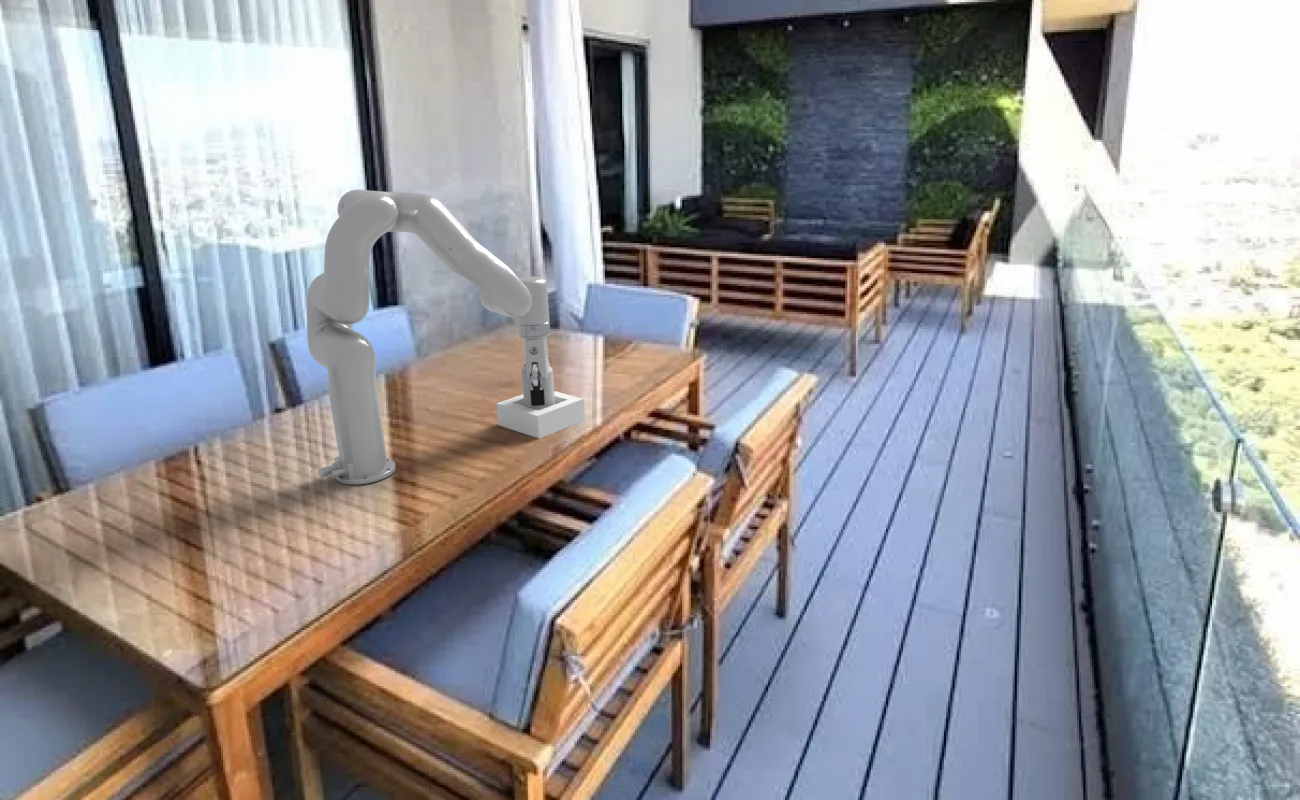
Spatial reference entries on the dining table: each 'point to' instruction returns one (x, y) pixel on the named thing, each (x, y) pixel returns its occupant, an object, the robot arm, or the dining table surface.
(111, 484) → the dining table surface
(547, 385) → the can
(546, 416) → the riser
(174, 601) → the dining table surface
